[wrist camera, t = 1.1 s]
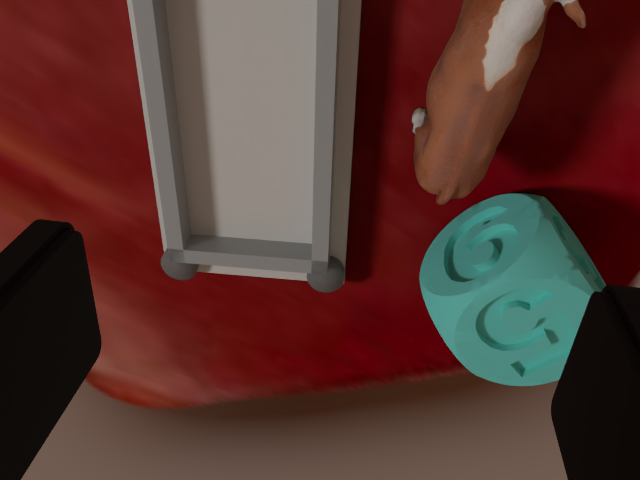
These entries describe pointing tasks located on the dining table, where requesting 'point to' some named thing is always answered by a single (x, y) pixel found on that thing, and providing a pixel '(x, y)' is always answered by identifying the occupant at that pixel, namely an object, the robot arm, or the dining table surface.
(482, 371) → the decorative dice
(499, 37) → the bull figurine
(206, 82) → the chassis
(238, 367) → the dining table surface
